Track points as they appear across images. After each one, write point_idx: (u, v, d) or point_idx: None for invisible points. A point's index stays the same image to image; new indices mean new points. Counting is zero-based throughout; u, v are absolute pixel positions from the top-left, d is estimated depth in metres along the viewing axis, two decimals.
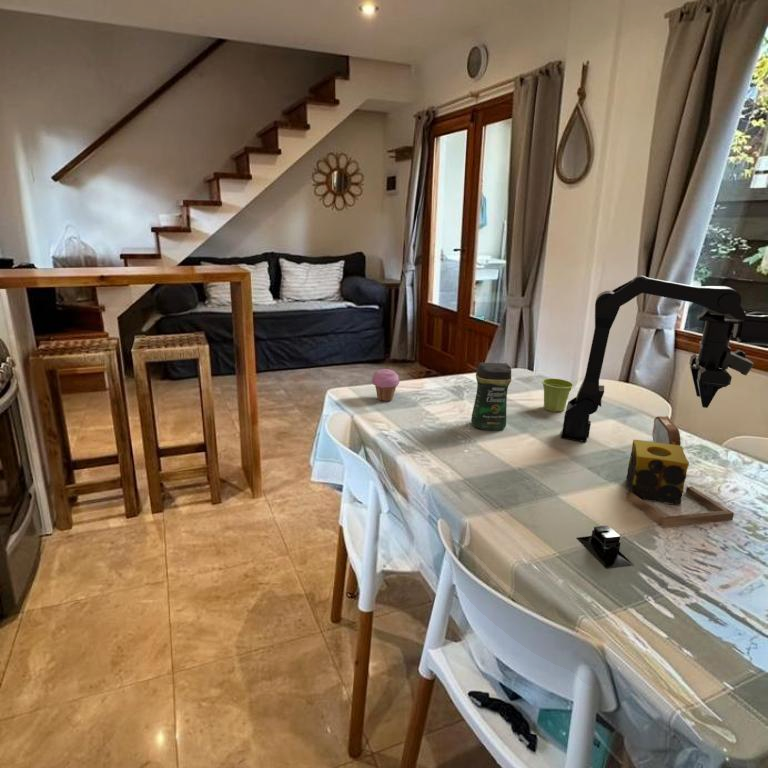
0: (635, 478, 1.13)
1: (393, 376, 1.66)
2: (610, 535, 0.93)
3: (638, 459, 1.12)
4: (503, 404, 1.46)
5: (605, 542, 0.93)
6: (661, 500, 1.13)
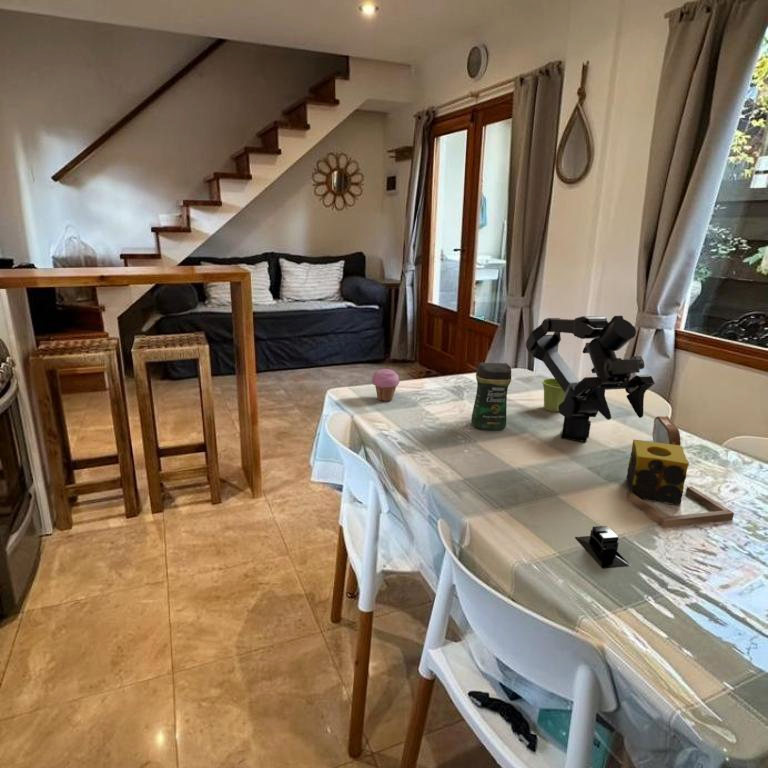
0: (635, 478, 1.13)
1: (393, 376, 1.66)
2: (608, 535, 0.93)
3: (638, 459, 1.12)
4: (503, 404, 1.46)
5: (602, 542, 0.92)
6: (661, 500, 1.13)
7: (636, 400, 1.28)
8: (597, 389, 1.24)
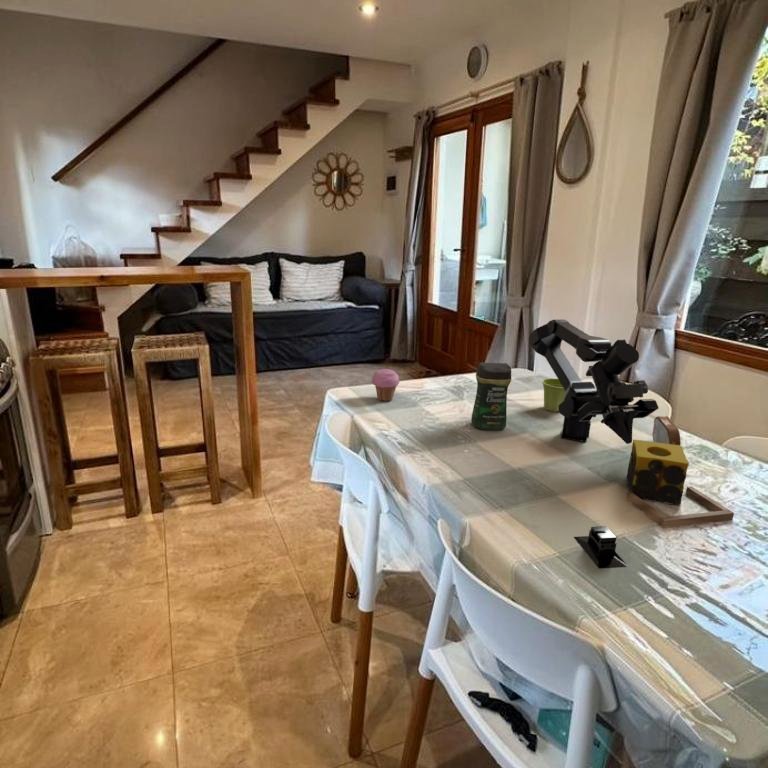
0: (635, 478, 1.13)
1: (393, 376, 1.66)
2: (605, 535, 0.93)
3: (638, 459, 1.12)
4: (503, 404, 1.46)
5: (600, 542, 0.92)
6: (661, 500, 1.13)
7: (625, 425, 1.26)
8: (616, 413, 1.24)
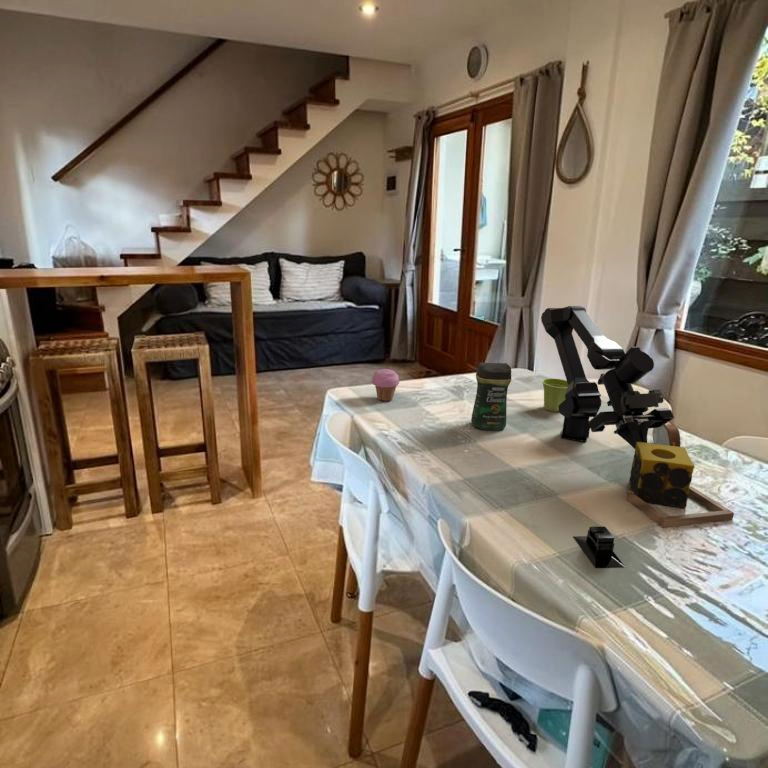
0: (640, 481, 1.12)
1: (393, 376, 1.66)
2: (603, 535, 0.93)
3: (643, 462, 1.10)
4: (503, 404, 1.46)
5: (597, 542, 0.92)
6: (666, 503, 1.11)
7: (640, 436, 1.21)
8: (630, 423, 1.19)
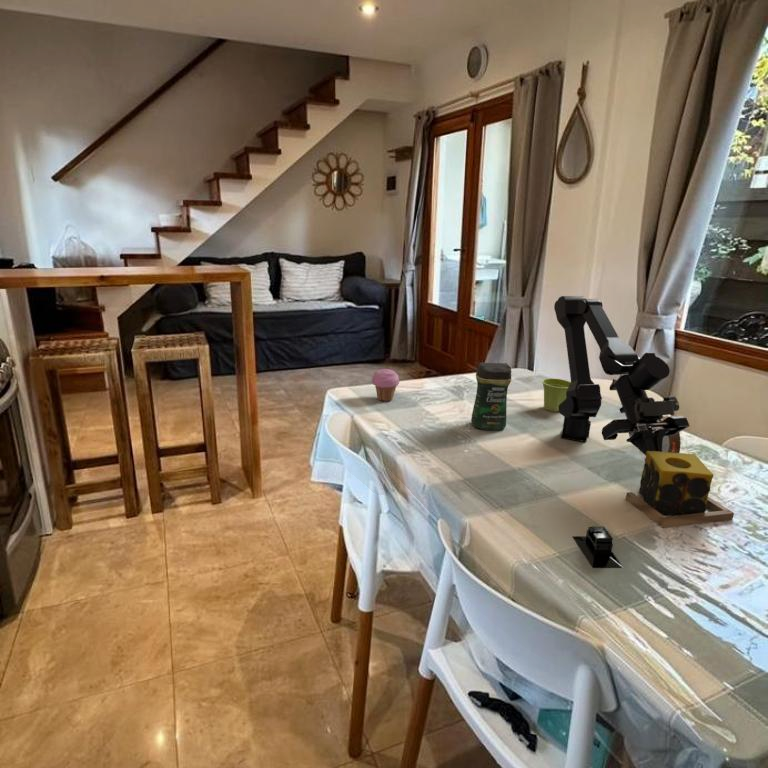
0: (658, 493, 1.07)
1: (393, 376, 1.66)
2: (602, 535, 0.93)
3: (662, 473, 1.05)
4: (503, 404, 1.46)
5: (596, 542, 0.92)
6: (685, 514, 1.07)
7: (654, 445, 1.17)
8: (644, 432, 1.15)
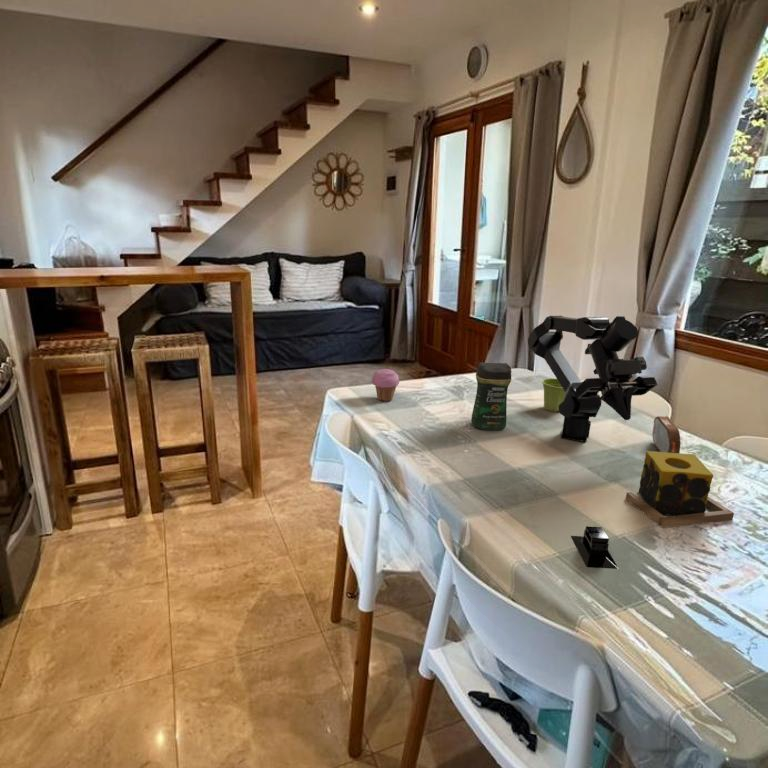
0: (658, 494, 1.07)
1: (393, 376, 1.66)
2: (598, 535, 0.93)
3: (662, 474, 1.05)
4: (503, 404, 1.46)
5: (591, 542, 0.93)
6: (685, 514, 1.07)
7: (624, 402, 1.26)
8: (614, 389, 1.24)
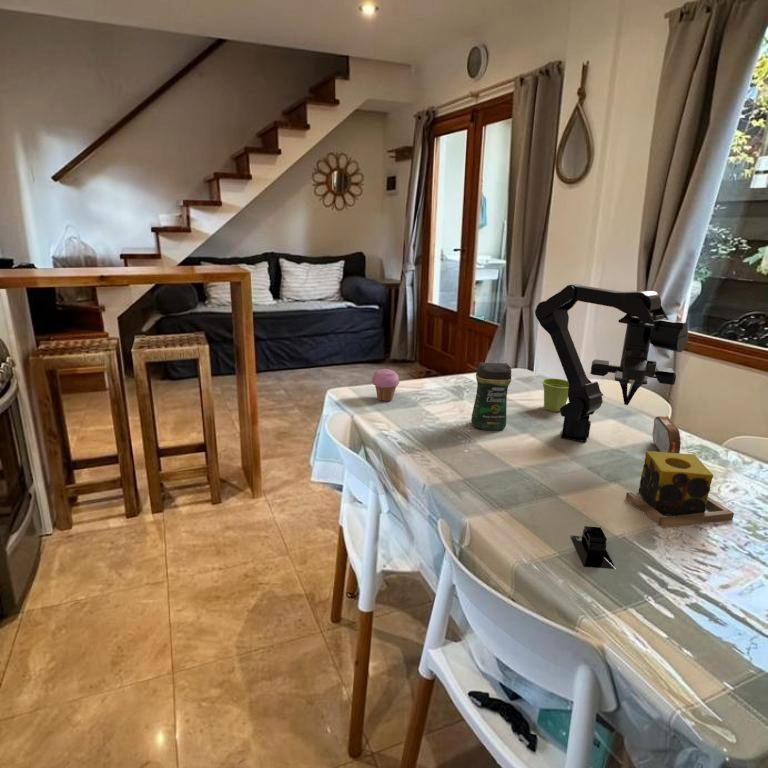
0: (658, 494, 1.07)
1: (393, 376, 1.66)
2: (596, 535, 0.93)
3: (662, 474, 1.05)
4: (503, 404, 1.46)
5: (589, 541, 0.93)
6: (685, 514, 1.07)
7: (630, 389, 1.31)
8: (618, 380, 1.30)
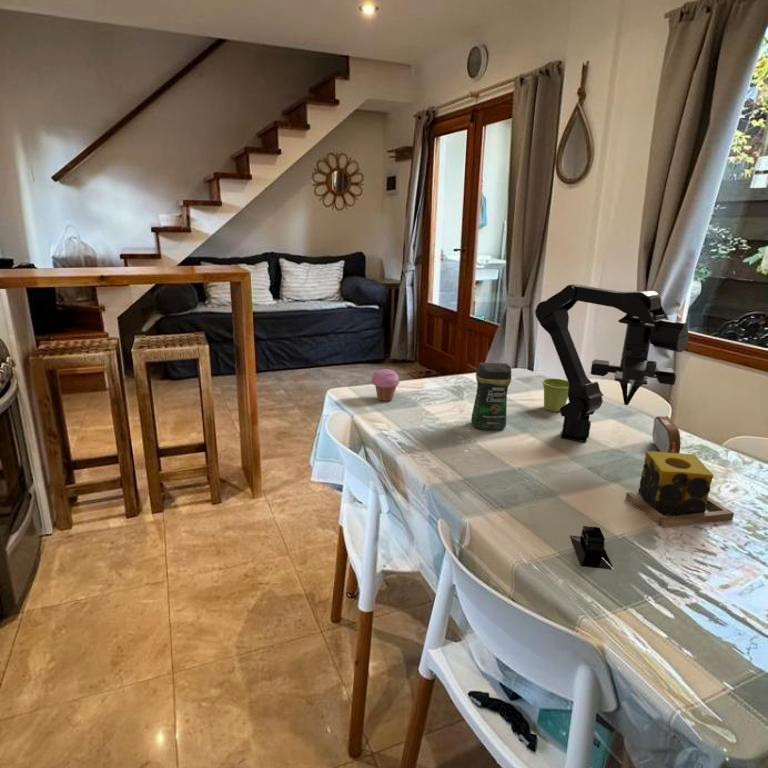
0: (658, 494, 1.07)
1: (393, 376, 1.66)
2: (594, 535, 0.93)
3: (662, 474, 1.05)
4: (503, 404, 1.46)
5: (587, 541, 0.93)
6: (685, 514, 1.07)
7: (630, 389, 1.31)
8: (618, 380, 1.30)
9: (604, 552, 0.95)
